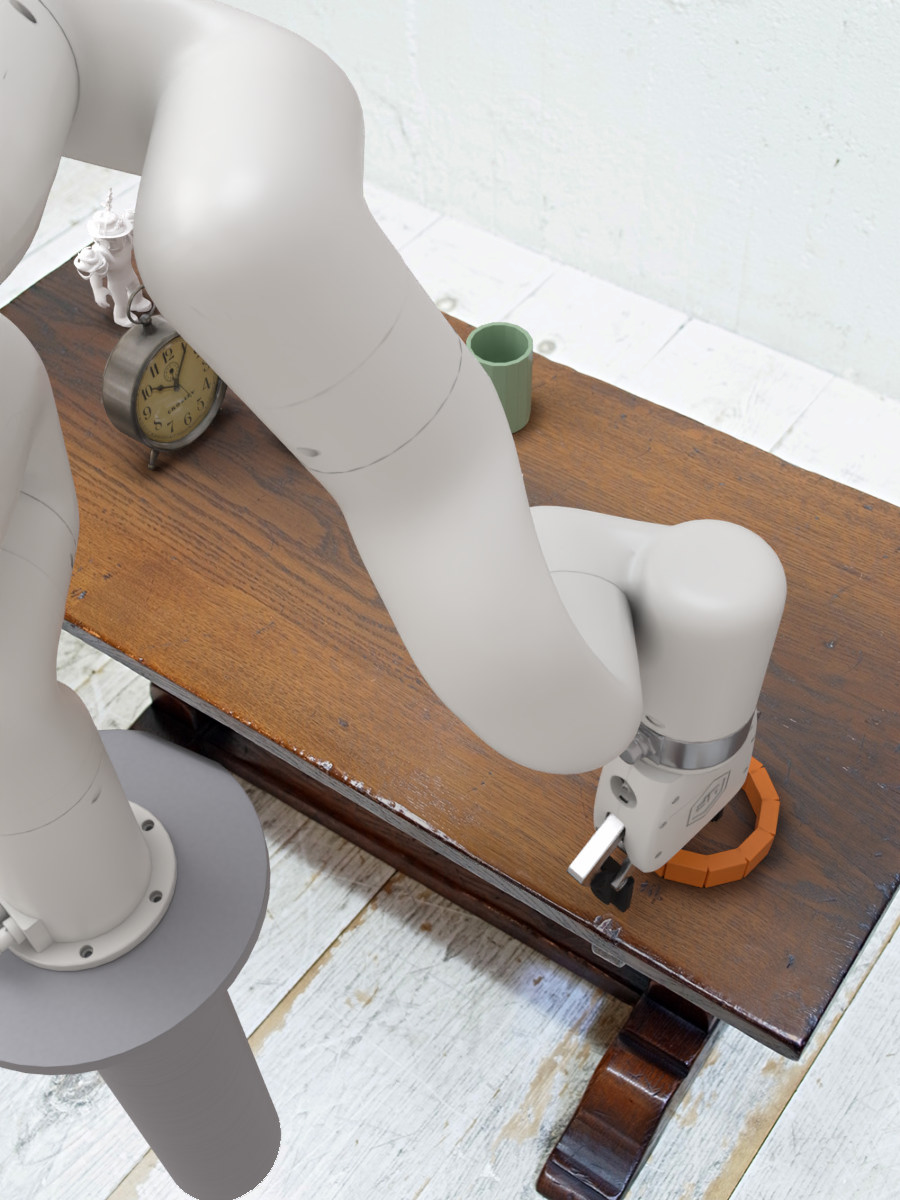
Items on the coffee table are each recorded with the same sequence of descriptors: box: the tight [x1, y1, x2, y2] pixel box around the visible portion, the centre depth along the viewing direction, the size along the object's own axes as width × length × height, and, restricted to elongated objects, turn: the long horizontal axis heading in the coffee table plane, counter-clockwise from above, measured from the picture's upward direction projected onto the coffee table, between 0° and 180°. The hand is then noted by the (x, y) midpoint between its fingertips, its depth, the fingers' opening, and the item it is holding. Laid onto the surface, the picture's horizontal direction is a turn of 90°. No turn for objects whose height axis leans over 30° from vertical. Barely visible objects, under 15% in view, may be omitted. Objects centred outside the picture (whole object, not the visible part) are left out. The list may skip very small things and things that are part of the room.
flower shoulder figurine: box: [73, 186, 153, 328], centre depth 120 cm, size 9×4×12 cm, turn 154°
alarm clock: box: [101, 283, 228, 471], centre depth 107 cm, size 11×5×16 cm, turn 143°
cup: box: [465, 321, 534, 434], centre depth 111 cm, size 6×6×8 cm
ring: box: [653, 756, 781, 889], centre depth 88 cm, size 10×10×2 cm
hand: (655, 849), depth 86 cm, fingers open, 8 cm apart
